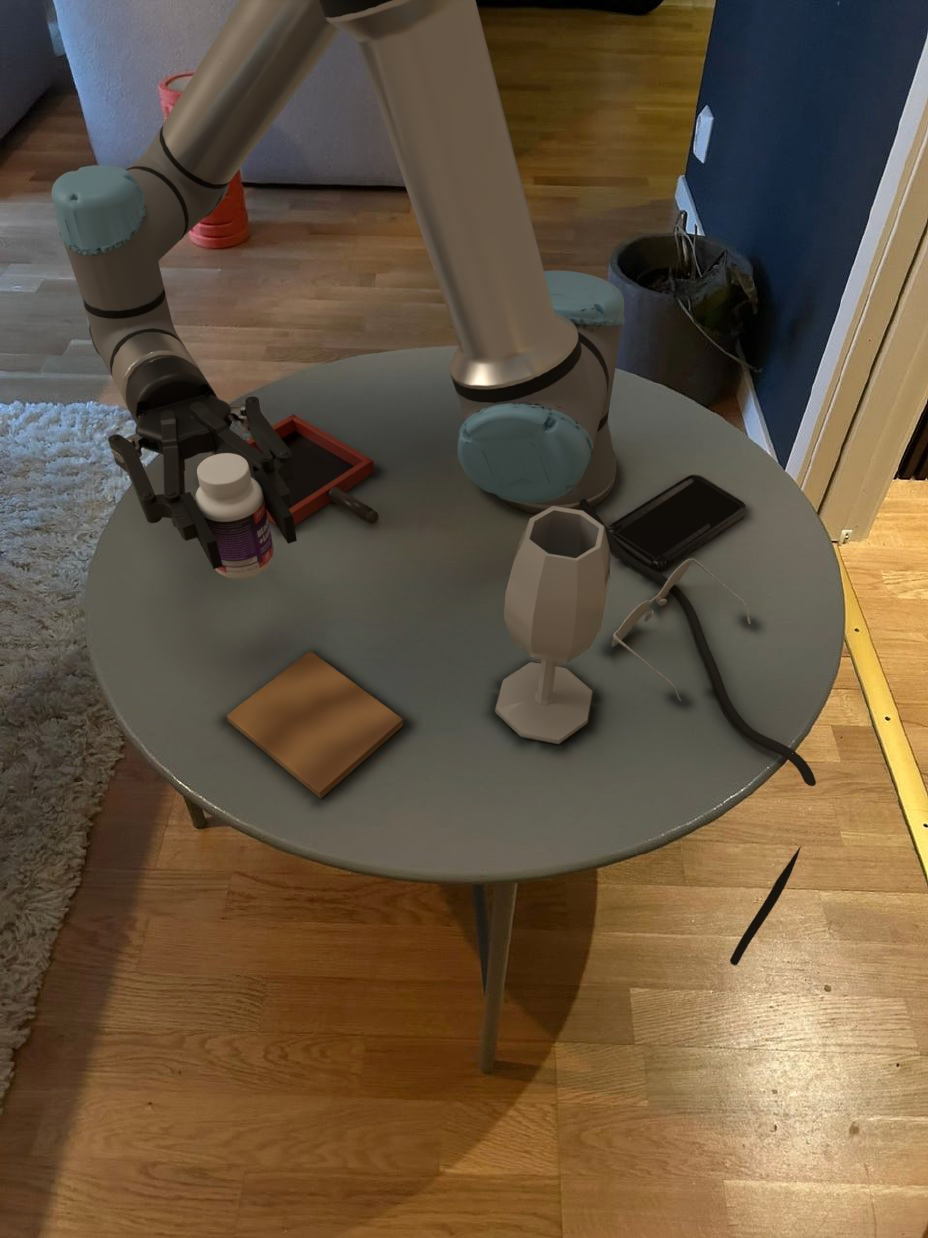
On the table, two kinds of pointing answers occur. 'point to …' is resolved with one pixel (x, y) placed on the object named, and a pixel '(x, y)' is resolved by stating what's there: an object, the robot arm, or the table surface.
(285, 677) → the wooden board
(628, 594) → the table surface
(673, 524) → the phone
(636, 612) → the sunglasses
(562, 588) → the wineglass
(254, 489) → the pill bottle
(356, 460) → the pan
